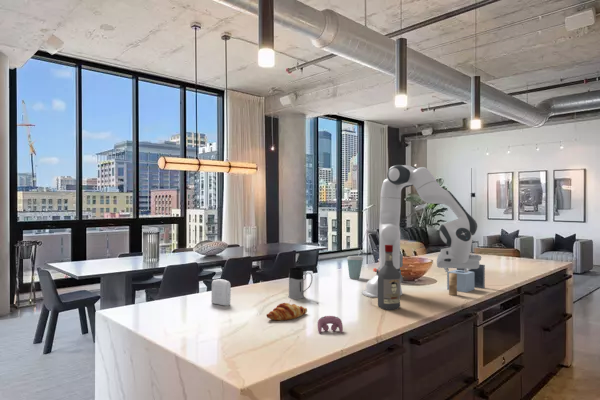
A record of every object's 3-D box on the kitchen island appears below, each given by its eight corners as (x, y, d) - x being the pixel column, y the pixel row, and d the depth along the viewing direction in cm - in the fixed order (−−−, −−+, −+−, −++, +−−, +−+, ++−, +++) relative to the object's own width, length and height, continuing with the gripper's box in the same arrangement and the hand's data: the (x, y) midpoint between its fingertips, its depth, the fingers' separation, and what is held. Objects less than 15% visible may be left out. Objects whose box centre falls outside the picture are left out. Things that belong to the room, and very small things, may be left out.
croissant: (302, 320, 198) (298, 303, 201) (315, 313, 191) (310, 296, 194) (263, 327, 185) (259, 309, 188) (275, 320, 178) (270, 302, 181)
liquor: (375, 306, 210) (375, 244, 210) (391, 304, 213) (391, 243, 213) (385, 310, 201) (385, 246, 201) (402, 308, 204) (402, 245, 204)
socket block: (466, 292, 238) (466, 274, 238) (447, 289, 246) (447, 271, 246) (474, 289, 246) (474, 271, 246) (455, 286, 254) (455, 269, 254)
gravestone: (231, 304, 213) (231, 279, 213) (226, 306, 209) (226, 280, 209) (215, 302, 218) (215, 277, 218) (210, 303, 214) (210, 279, 214)
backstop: (469, 294, 236) (469, 268, 236) (442, 290, 247) (442, 265, 247) (484, 288, 250) (484, 264, 250) (458, 285, 261) (458, 262, 261)
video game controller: (342, 334, 170) (341, 316, 174) (343, 332, 166) (342, 314, 169) (317, 334, 170) (316, 316, 173) (318, 332, 166) (317, 314, 169)
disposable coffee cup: (344, 277, 288) (344, 255, 288) (358, 276, 291) (358, 254, 291) (350, 280, 278) (350, 257, 278) (366, 279, 281) (365, 256, 281)
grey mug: (293, 294, 236) (293, 267, 236) (316, 297, 228) (316, 269, 228) (284, 297, 228) (284, 269, 228) (308, 300, 221) (308, 271, 221)
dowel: (452, 297, 229) (452, 274, 229) (447, 295, 233) (447, 273, 233) (458, 296, 231) (458, 274, 231) (453, 294, 234) (453, 272, 234)
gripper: (480, 250, 212) (476, 266, 222) (437, 249, 216) (435, 265, 226) (482, 260, 208) (478, 277, 217) (438, 259, 212) (436, 275, 221)
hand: (456, 271), depth 221 cm, fingers open, 8 cm apart
